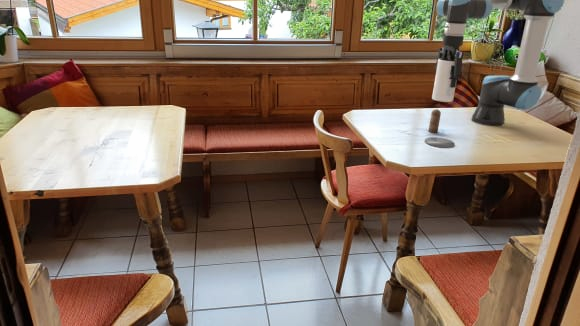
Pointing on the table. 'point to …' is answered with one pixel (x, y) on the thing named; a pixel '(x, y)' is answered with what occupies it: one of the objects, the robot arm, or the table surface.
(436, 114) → the pepper mill
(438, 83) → the cup
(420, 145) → the table surface
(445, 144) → the coaster
